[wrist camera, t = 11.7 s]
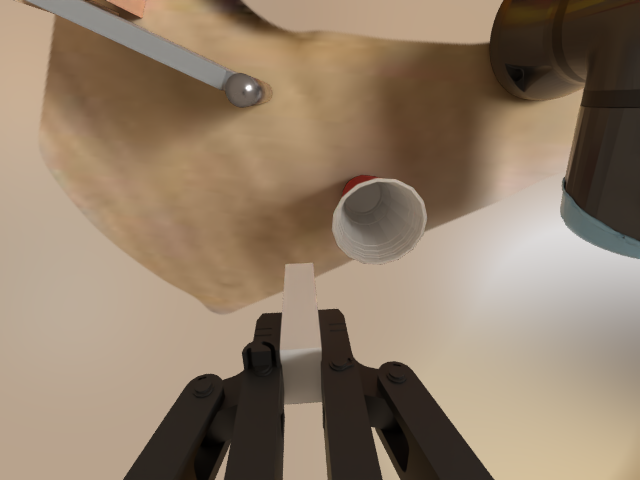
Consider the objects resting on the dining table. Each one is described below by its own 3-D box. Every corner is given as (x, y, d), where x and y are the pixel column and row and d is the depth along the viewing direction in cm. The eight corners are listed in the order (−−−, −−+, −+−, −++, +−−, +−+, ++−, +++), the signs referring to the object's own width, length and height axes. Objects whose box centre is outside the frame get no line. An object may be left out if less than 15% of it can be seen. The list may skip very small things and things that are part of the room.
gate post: (271, 81, 41) (255, 72, 25) (273, 102, 42) (258, 107, 26) (252, 82, 41) (222, 73, 25) (254, 102, 42) (227, 107, 26)
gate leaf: (249, 75, 40) (225, 65, 26) (243, 94, 41) (216, 93, 27) (101, 5, 36) (-17, -50, 23) (98, 26, 37) (-19, -14, 23)
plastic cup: (309, 203, 48) (312, 235, 37) (356, 142, 45) (375, 157, 34) (365, 243, 51) (383, 283, 40) (412, 188, 48) (447, 215, 37)
